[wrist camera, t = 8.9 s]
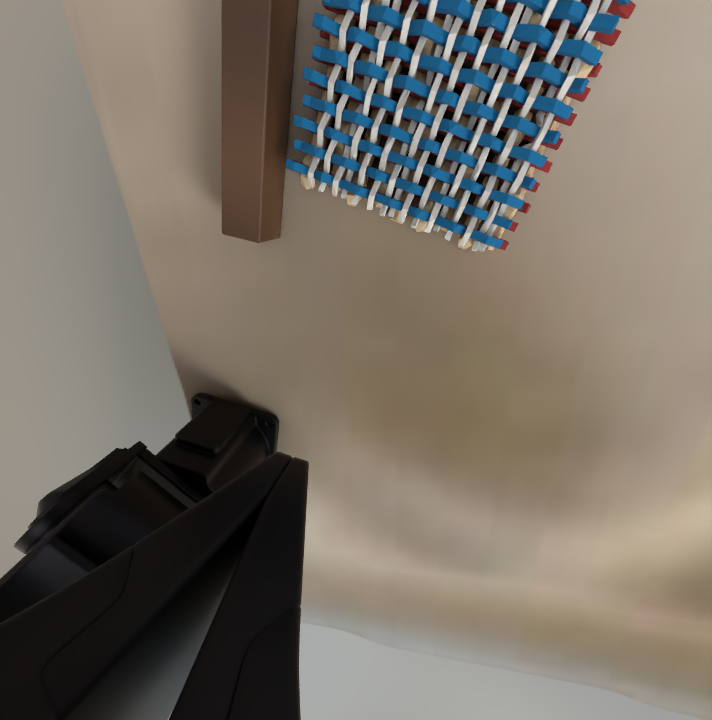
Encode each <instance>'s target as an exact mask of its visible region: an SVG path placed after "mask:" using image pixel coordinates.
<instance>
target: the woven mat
mask: <svg viewBox="0 0 712 720" xmlns="http://www.w3.org/2000/svg"><path fill="white" fill-rule="evenodd" d="M370 1H371V0H323V2H322V4H323V6H324V7H325V9H327V10H330V11H332V12H335V13H338V14H337V16H336V18H335V20H334V21H333V20H331V19H329V18H327V17H325V16H323V15H320V14H317V13H314V19H313V24H312V26H313V27H315V28H317V29H320V30H321V32H320V37H322V38H324V39H326V40H328V41H330V44H329V49H328V48H323V47H319V46H315V45H314V46H313V51H312V58H313V59H314V60H316V61H318V62H321V63H323V64H326V65H328V69H327V74H326V76H325V75H323V74H321V73H318V72H316V71H314V70H312V69H309V68H307V67H304V71H303V76H302V79H305V80H308V81H309V84H310V85H312V86H315V87H318V88H320V89H323V92H322V96H321V99H317V98H314V97H311V96H307V95H304V97H303V102H302V105H303V106H305V107H308V108H311V109H313V110H316V111H318V115H317V119H316V122H313V121H311V120H308V119H306V118H303V117H301V116H298V115H296V114H295V117H294V123H293V125H295V126H298V127H300V128H302V129H305V130H307V131H310V132H312V133H313V137H312V142H311V144H308V143H306V142H303V141H300V140H297V139H295V142H294V149H297V150H299V151H302V152H305V153H307V154H306V156H305V158H304V160H303V163H301V162H298V161H295V160H294V161H293V160H291V159H288V158H287V159H286V165H285V168H288V169H290V170H293V171H296V172H299V173H301V185H302V186H303V187H304V188H305V189H307V190H308V189H312V188H315V179H317V180H319V181H321V184H320V186H319V189H318V191H319V192H323V191H324V189H325V187H326V185H327V184H329V188H331V189H332V195H334V196H335V197H337V191H339V192H342V194H341V198H343V199H346V197H347V204H348V205H351V206H354V207H355V206H356V205H357V204H358V203H359V201H360V200H361V198H362V197H365V198H368V203H367V209H366V210H372V208H373V205H374V206H375V207H381V209H380V212H379V214H380V216H385V213H386V211H387V208H388V207H390V210H389V213H388V216H391V218H390V219H391V220H393V221H395V222H397V223H400V224H403V222H404V221H405V218H406V215H407V214H408V215H411V216H413V217H414V219H413V221H412V224H411V227H412V228H414V229H415V231H416V232H423V231H424V232H428V233H430V231H431V229H432V227H433V224H435V227H434V229H433V231H435V232H438V231H439V230H441V231H444V232H446V235H445V238H444V239H446V240H448V241H450V238H451V236H452V233H453V232H455V233H459V234H460V237H459V242H458V246H457V247H460V248H463V249H466V248H468V247H470V246H471V245H472V243H473V239H474V240H475V242H474V244H473V247H472V251H475V252H477V249H478V247H479V245H480V247H479V249H478V250H479V251H482V252H484V250H485V248H486V249H489V250H492V251H493V249H494V248H498V249H503V250H505V249H506V247H507V245H508V242H507V241H505V240H502V239H500V237H501V235H502V234H503V232H504V230H505V229H508V230H511V231H513V232H514V231H515V229H516V227H517V226H518V224H519V223H516V222H513V221H512V220H511V219H512V218H513V216H514V215H515V213H516V212H517V211H520V212H524V213H527V212H528V210H529V208H530V207H531V205H530V204H528V203H525V201H523V198H524V195H525V192H526V189H527V190H530V191H532V192H536V190H537V188H538V186H539V185H540V183H537V182H536V180H535V179H534V178H531V177H532V175H533V173H534V171H535V169H539V170H542V171H544V172H547V173H548V172H549V170H550V168H551V166H552V162H549V161H547V157H545V156H543V154H544V152H545V150H546V148H547V147H549V148H552V149H555V150H557V149H558V148H559V146H560V145H561V143H562V141H563V139H561V138H559V137H560V136H561V134H560V132H559V131H556V129H557V127H558V125H559V123H563V124H565V125H568V126H570V125H572V123H573V121H574V119H575V118H576V116H577V114H574V113H571V112H572V111H573V108H572V107H570V106H569V104H570V102H571V100H572V98H573V99H575V100H578V101H581V102H582V101H585V99H586V97H587V95H588V93H589V91H590V88H587V87H586V86H587V84H588V82H589V81H588V80H587V79H586V77H597V75H598V73H599V71H600V69H601V68H602V66H601V64H600V63H598V61H599V59H600V57H601V56H602V54H603V52H601V51H600V50H599V49H600V46H601V43H602V44H606V45H609V46H613V45H614V44H615V42H616V40H617V39H618V37H619V35H620V33H621V31H619V30H616V29H615V27H616V25H617V23H618V21H619V17H621V18H623V19H629V17H630V15H631V14H632V12H633V10H634V8H635V6H636V5H635V4H634V3H632V2H631V1H630V0H566V1H557V0H372V4H371V5H369V4H370ZM485 4H487V5H490V6H493V7H495V9H492V8H489V9H483V7H484V5H485ZM584 4H585V5H588V6H589V9H588V10H587V8H586V7H585V5H584ZM400 9H401V12H400V13H399V10H400ZM419 13H422V14H424V15H426V19H417V18H418V14H419ZM356 21H359V22H360V23H359V28H357V27H355V23H356ZM518 21H519V22H520V24H517V22H518ZM366 24H367V25H368V29H367V32H365V29H366ZM452 24H453V26H452V29H451V31H450V33H449V30H450V27H451V25H452ZM547 29H550V30H552V32H550V31H549V30H547ZM474 33H478V34H481V35H484V38H483V40H482V43H481V42H480V41H479V40H478V39H477V38H476V37H473V36H474ZM391 34H394V37H393V40H392V41H388V39H389V37H390V35H391ZM570 34H572V35H575V36H574V38H573V40H572V39H568V38H569V36H570ZM581 39H582V41H581ZM410 43H412V44H413V45H415V46H416V48H415V51H413V50H411V49H410V48H408V47H409V44H410ZM508 44H509V45H511V47H510V49H509V51H508V50H507V47H508ZM346 50H349V51H351V52H350V54H349V55H348V54H346ZM359 51H361V56H360V60H356V57H357V55H358V53H359ZM533 53H534V54H537V55H540V58H539V61H538V62H530V60H531V58H532V55H533ZM441 54H443V56H442V58H440V56H441ZM383 59H385V60H387V61H386V63H385V65H384V67H383V68H382V67H381V66H382V61H383ZM464 60H467V61H470V62H474V64H473V66H472V69H465V68H461V66H462V64H463V62H464ZM556 63H558V64H559V65H560V66H559V68H558V69H557V68H555V65H556ZM403 66H406V67H409V68H410V69H409V73H408V75H399V74H400V72H401V70H402V67H403ZM566 70H568V73H567V74H565V71H566ZM496 71H498V72H500V73H499V76H498V78H497V80H496V81H494V80H493V78H494V75H495V73H496ZM344 72H347V77H346V82H345V81H343V80H342V78H343V73H344ZM353 75H354V76H355V80H354V84H353V85H352V77H353ZM433 77H434V78H435V80H434V83H433V85H432V87H431V84H432V80H433ZM521 80H523V81H526V82H528V85H527V87H526V89H523V88H522V87H520V86H519V84H520V82H521ZM375 86H376V87H377V91H376V93H373V91H374V88H375ZM454 86H455V87H457V88H459V89H461V90H462V91H463V92H462V94H461V96H459V95H458V94H456V93H454V92H453V89H454ZM544 88H545V89H548V91H547V93H546V95H545V97H544V96H541V94H542V92H543V90H544ZM393 92H395V93H400V94H401V97H400V99H399V102H398V103H397V102H396V101H394V100H392V93H393ZM555 92H556V94H555ZM554 94H555V96H554ZM338 95H339V96H342V97H341V99H340V101H339V102H338V104H337V105H336V103H337V98H338ZM553 96H554V98H553ZM347 99H349V103H348V107H347V110H346V109H344V106H345V104H346V102H347ZM484 99H488V101H487V104H486V105H484V104H483V101H484ZM426 102H427V103H426ZM425 103H426V106H425ZM510 105H512V106H515V107H517V109H516V111H515V113H514V116H512V115H506V114H507V111H508V109H509V106H510ZM424 106H425V109H424V111H423V108H424ZM369 107H372V108H373V110H372V114H371V117H370V118H369V117H368V111H369ZM445 110H449V111H451V112H454V115H453V118H452V121H451V120H449V119H443V118H442V117H443V115H444V113H445ZM533 113H534V114H536V124H534V123H532V122H530V121H531V118H532V115H533ZM388 114H391V115H393V116H394V120H393V124H392V125H389V124H385V123H386V119H387V116H388ZM333 117H335V118H336V120H335V129H333V128H331V124H332V119H333ZM341 120H343V121H342V123H341ZM476 121H479V123H478V126H477V128H476V131H473V130H472V129H473V127H474V125H475V122H476ZM416 126H418V128H417V130H416V133H415V135H414V132H415V129H416ZM364 129H366V130H367V131H366V135H365V138H364V140H362V139H360V138H361V135H362V132H363V130H364ZM499 130H500V131H502V132H504V133H506V135H505V137H504V138H503V140H500V139H498V138H497V137H496V135H497V133H498V131H499ZM436 134H439V135H444V136H445V139H444V141H443V143H442V144H440V143H438V142H436V141H434V140H435V137H436ZM381 136H385V137H388V140H387V142H386V145H385V147H384V148H382V147H380V146H379V142H380V139H381ZM328 139H330V140H332V141H331V143H330V145H329V147H328V150H325V149H326V144H327V140H328ZM521 140H525V141H530V144H527V145H524V146H522V147H518V145H519V144H520V142H521ZM467 143H469V144H470V145H469V147H468V149H467V152H466V153H464V152H463V151H464V149H465V146H466V144H467ZM409 146H411V147H410V151H409V154H408V157H407V156H406V155H407V152H408V149H409ZM334 149H335V153H333V151H334ZM357 150H359V151H361V153H360V156H359V160H358V162H356V160H357ZM489 151H491V152H493V153H496V155H495V157H494V159H493V161H492V163H489V162H485V161H486V158H487V156H488V153H489ZM350 152H351V155H350ZM429 154H433V155H435V156H438V157H437V160H436V162H435V165H434V166H432V165H429V164H426V161H427V159H428V156H429ZM349 156H350V159H349ZM375 157H377V158H380V159H381V160H380V164H379V168H378V169H375V168H372V165H373V162H374V159H375ZM510 159H512V160H515V161H514V163H513V165H512V167H511V169H510V170H509V169H507V168H506V167H507V165H508V163H509V161H510ZM322 160H324V171H322V170H320V169H318V167H319V165H320V164H321V162H322ZM330 162H331V163H334V165H333V170H332V174H330V173H329V172H330ZM458 165H459V166H460V168H459V171H458V173H457V175H454V174H455V171H456V169H457V166H458ZM402 167H404V170H403V173H402V176H401V178H399V177H397V176H398V174H399V172H400V170H401V168H402ZM518 168H519V169H518ZM347 169H348V170H347ZM517 170H518V171H517ZM346 171H347V174H346ZM354 171H355V174H354V177H353V181H352V182H351V179H352V176H353V172H354ZM516 172H517V173H516ZM421 174H422V175H425V176H428V177H430V178H429V180H428V183H427V185H426V187H422V186H420V185H418V184H419V180H420V177H421ZM479 174H484V175H486V177H485V179H484V181H483V183H482V185H481V184H479V183H477V182H476V180H477V178H478V176H479ZM345 175H346V178H345ZM369 177H370V178H373V179H375V181H374V184H373V186H372V189H369V188H366V185H367V182H368V179H369ZM500 180H502V181H504V183H503V185H502V187H501V189H500V191H497V190H496V188H497V186H498V184H499V182H500ZM510 184H511V185H510ZM450 185H452V188H451V190H450V193H449V195H448V196H446V193H447V191H448V188H449V186H450ZM509 185H510V187H509ZM394 187H397V190H396V193H395V196H394V198H392V197H391V196H392V192H393V189H394ZM508 187H509V189H508ZM342 189H343V190H342ZM507 189H508V192H507V194H506V191H507ZM470 193H473V194H476V195H477V196H476V199H475V201H474V203H473V205H470V204H467V201H468V198H469V196H470ZM414 195H418V196H421V200H420V203H419V206H415V205H412V204H411V202H412V199H413V197H414ZM491 200H492V201H494V203H493V205H492V207H491V210H490V212H488V211H486V209H487V207H488V205H489V203H490V201H491ZM500 204H502V205H501V207H500V208H499V210H498V207H499V205H500ZM441 205H444V206H443V209H442V211H441V213H440V215H438V212H439V210H440V208H441ZM497 210H498V212H497ZM462 212H463V213H466V214H468V216H467V218H466V221H465V223H464V225H463V224H461V223H458V220H459V218H460V216H461V214H462ZM496 212H497V214H496ZM481 220H484V221H485V222H484V224H483V225H482V227H481V229H480V231H479V230H477V228H478V226H479V224H480V222H481ZM486 231H487V232H486ZM480 242H481V244H480Z"/></svg>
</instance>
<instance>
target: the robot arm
mask: <svg viewBox="0 0 712 720" xmlns="http://www.w3.org/2000/svg"><path fill="white" fill-rule="evenodd" d="M199 400H200V401H199ZM191 405H192V420H191V421H190V422H189V423H188V424H187V425H185V427H183V428H182V429H181V430H180V431H179V432H178V433H177V434H176V435H175V438H174V439H173V440H172V441H171V442H170V443H169V444H168V445H166V446H165V447H164V448H163V449H162V450H161V451H160V452H159V453H158V454H157V455H156V456H155V455H154V454H152V453H151V452H150V451H149V450H147V449H146V448H147V446H145V445H144V444H143V443H142V442H141V441H139V442H137V443H136V444H135V445H133V446H132V447H131V448H129V449H126V448H124V449H119V448H116V449H115V450H114V451H112V452H111V453H110V454H109V455H107V456H106V457H105V458H103V459H102V460H101V461H100V462H98V463H97V464H96V465H94V466H93V467H92V468H90V469H89V470H87V471H85V472H84V473H82V474H80V475H79V476H77V477H75V478H74V479H72V480H70V481H69V482H67V483H65V484H63V485H62V486H60V487H58V488H57V489H55V490H53V491H52V492H50V493H49V494H47V495H46V496H45V497H44V498H43V499H42V500H40V502H39V504H38V510H37V517H36V519H35V520H34V521H33V522H32V523H31V524H30V525H29V527H28V528H29V530H28V531H27V532H26V533H25V534H24V535H23V536H22V537H21V538H20V539H19V540H18V541H17V542H16V543H15V545H14V547H15V548H17V549H18V550H20V551H21V552H23V553H24V554H27V555H26V556H25V557H23V558H22V559H21V560H20V561H19V562H18V563H17V564H16V565H15V566H14V567H13V568H12V569H11V570H9V571H8V572H7V573H6V574H5V575H4V576H3V577H2V578H1V579H0V720H167V719H168V718H169V716H170V714H171V712H172V714H171V716H170V718H169V720H301V718H300V691H299V636H300V616H301V608H300V605H301V594H302V576H303V558H304V540H305V522H306V504H307V486H308V468H309V463H308V461H305V460H302V459H299V458H296V457H294V458H292V457H291V456H289V455H286V454H283V453H280V452H276V449H277V439H278V430H279V420H278V418H277V417H276V416H274V415H271V414H267V413H264V412H261V411H257V410H254V409H251V408H247V407H244V406H241V405H237V404H234V403H231V402H227V401H224V400H221V399H217V398H214V397H211V396H208V395H204V394H201V393H198V394H196V395H195V396H193V397H192V399H191ZM270 421H271V422H272V423H273V424H272V423H270ZM172 710H173V711H172Z"/></svg>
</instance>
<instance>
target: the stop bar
mask: <svg viewBox="0 0 712 720" xmlns="http://www.w3.org/2000/svg"><path fill="white" fill-rule="evenodd" d="M297 7H298V0H222V234H224V235H228V236H232V237H237V238H241V239H245V240H249V241H253V242H257V243H261V242H264V241H268V240H272V239H276V238H279V237H280V228H281V215H282V202H283V189H284V176H285V163H286V150H287V137H288V124H289V111H290V98H291V85H292V72H293V59H294V46H295V33H296V20H297Z"/></svg>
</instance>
